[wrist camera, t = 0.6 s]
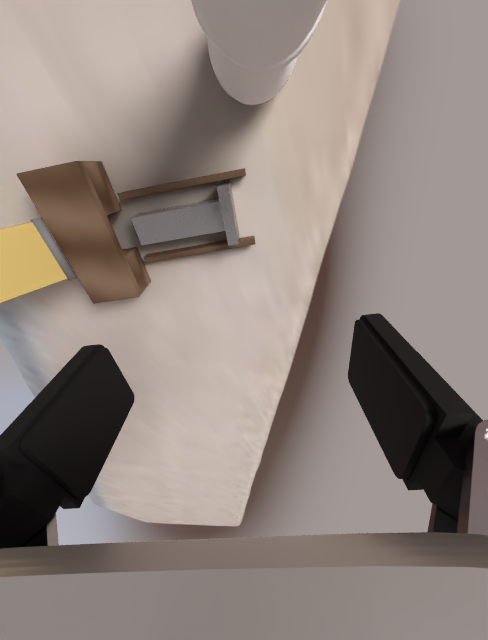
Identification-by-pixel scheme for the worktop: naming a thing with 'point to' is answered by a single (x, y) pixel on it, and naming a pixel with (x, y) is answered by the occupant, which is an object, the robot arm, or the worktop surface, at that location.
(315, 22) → the water bottle
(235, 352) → the worktop surface
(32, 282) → the yellow grey-edged tile
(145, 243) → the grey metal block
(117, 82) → the worktop surface
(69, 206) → the block
